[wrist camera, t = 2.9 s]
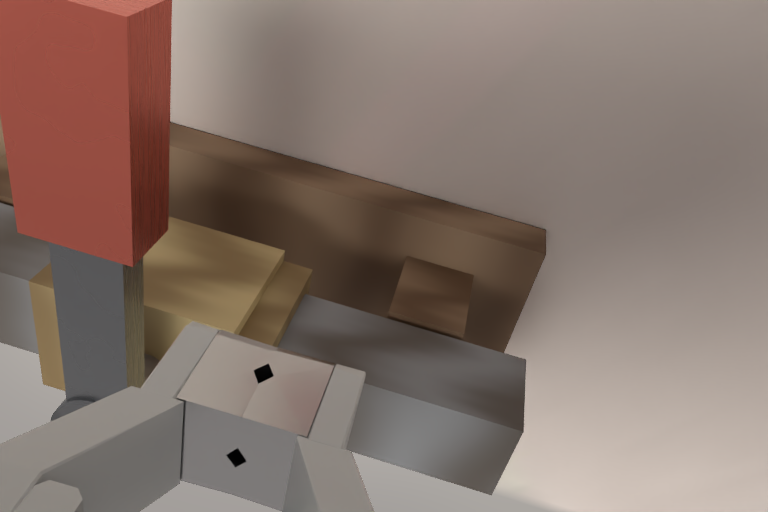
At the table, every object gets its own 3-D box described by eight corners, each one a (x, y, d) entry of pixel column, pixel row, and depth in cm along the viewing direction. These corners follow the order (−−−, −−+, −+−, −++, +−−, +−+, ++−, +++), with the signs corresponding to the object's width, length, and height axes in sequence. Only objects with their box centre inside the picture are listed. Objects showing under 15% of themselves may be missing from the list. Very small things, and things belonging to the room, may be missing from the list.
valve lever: (164, 445, 22) (138, 488, 21) (83, 419, 22) (51, 460, 21) (171, -3, 14) (126, 16, 12) (39, -40, 14) (-21, -24, 12)
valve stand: (545, 230, 28) (546, 440, 19) (491, 359, 33) (468, 583, 23) (-4, 72, 30) (-274, 190, 20) (17, 217, 34) (-195, 370, 25)
